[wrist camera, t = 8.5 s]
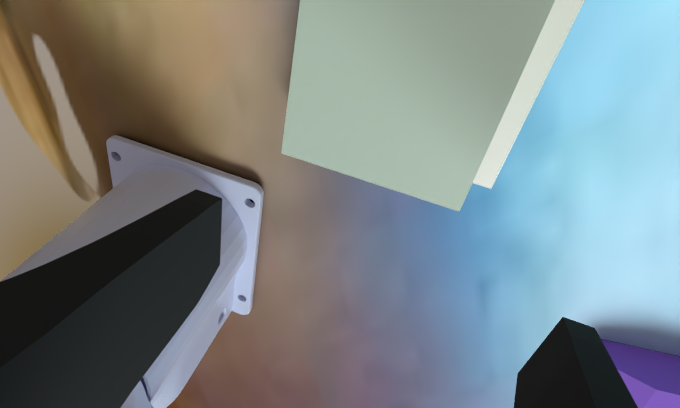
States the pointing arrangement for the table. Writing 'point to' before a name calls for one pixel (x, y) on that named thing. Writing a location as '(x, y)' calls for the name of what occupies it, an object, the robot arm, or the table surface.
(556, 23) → the stub plate
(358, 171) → the housing
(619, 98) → the table surface
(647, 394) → the bracket
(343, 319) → the table surface
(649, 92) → the table surface
